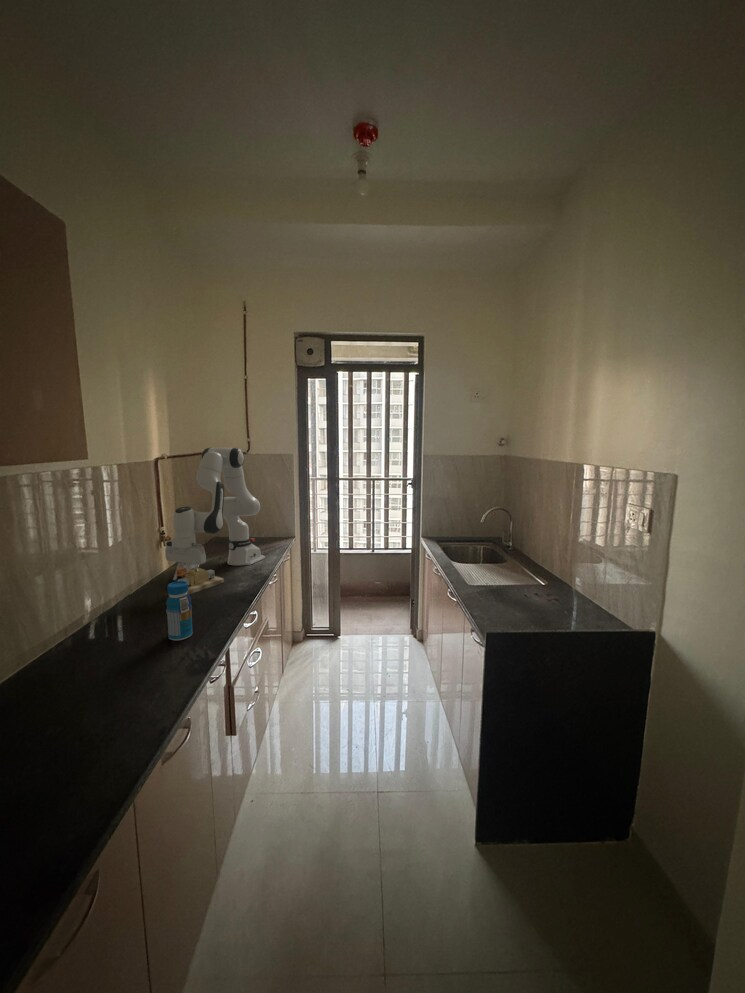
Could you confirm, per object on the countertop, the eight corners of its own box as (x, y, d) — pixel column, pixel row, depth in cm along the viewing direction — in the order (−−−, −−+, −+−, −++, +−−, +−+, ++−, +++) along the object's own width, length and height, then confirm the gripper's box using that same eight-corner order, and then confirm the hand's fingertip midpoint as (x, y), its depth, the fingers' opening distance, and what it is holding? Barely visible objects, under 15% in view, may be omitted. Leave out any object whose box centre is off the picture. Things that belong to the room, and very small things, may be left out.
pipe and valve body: (209, 576, 203) (208, 561, 201) (216, 578, 200) (215, 562, 199) (176, 587, 187) (175, 570, 186) (183, 589, 185) (182, 572, 183)
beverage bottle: (165, 642, 140) (161, 589, 137) (170, 631, 148) (167, 580, 145) (191, 639, 142) (188, 586, 139) (195, 629, 150) (192, 578, 147)
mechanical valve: (202, 569, 211) (190, 553, 200) (192, 599, 199) (180, 585, 188) (183, 570, 212) (170, 555, 200) (173, 600, 200) (159, 586, 189)
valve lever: (195, 566, 194) (195, 560, 194) (200, 567, 194) (200, 561, 193) (176, 575, 181) (176, 569, 181) (181, 576, 181) (181, 569, 180)
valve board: (209, 577, 206) (208, 574, 206) (224, 582, 200) (223, 578, 200) (168, 591, 188) (168, 587, 187) (184, 596, 181) (183, 592, 181)
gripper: (208, 542, 181) (209, 571, 182) (172, 539, 187) (174, 567, 188) (198, 545, 175) (200, 576, 176) (162, 542, 181) (163, 571, 182)
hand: (186, 571), depth 183 cm, fingers closed
